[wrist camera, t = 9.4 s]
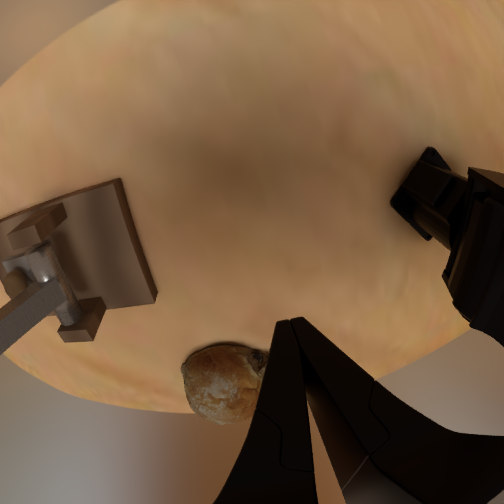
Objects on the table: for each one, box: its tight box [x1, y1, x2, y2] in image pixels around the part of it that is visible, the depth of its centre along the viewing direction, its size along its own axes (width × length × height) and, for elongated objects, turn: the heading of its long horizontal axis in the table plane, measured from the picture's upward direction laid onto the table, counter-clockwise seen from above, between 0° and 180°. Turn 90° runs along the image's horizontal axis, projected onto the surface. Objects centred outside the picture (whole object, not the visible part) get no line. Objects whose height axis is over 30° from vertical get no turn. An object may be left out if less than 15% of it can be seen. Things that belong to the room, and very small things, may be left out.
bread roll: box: [181, 345, 267, 425], centre depth 27 cm, size 10×10×8 cm
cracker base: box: [0, 178, 158, 343], centre depth 18 cm, size 16×10×6 cm, turn 98°
